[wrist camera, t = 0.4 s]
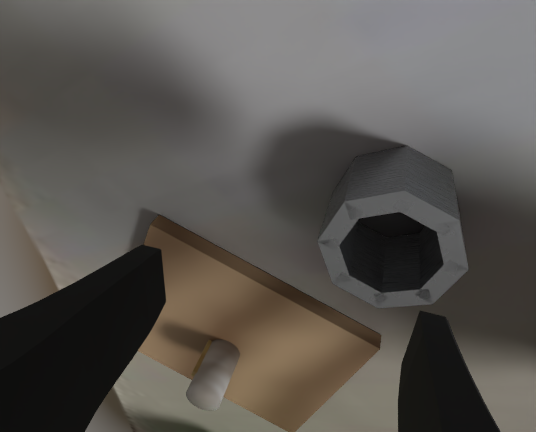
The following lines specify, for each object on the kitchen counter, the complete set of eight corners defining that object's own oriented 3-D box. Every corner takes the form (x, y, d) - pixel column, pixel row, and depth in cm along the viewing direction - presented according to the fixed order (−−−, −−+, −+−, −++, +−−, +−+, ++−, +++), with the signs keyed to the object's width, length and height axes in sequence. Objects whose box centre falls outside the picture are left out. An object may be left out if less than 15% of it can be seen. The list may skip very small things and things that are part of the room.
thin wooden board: (381, 335, 24) (375, 405, 21) (295, 420, 31) (279, 486, 27) (159, 214, 24) (113, 264, 21) (120, 326, 31) (80, 379, 27)
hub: (483, 187, 18) (497, 241, 15) (410, 266, 21) (409, 325, 18) (375, 128, 18) (366, 169, 15) (317, 216, 21) (300, 266, 18)
